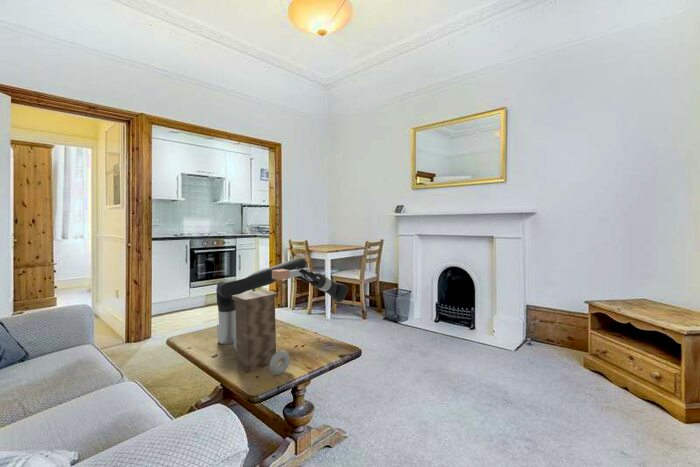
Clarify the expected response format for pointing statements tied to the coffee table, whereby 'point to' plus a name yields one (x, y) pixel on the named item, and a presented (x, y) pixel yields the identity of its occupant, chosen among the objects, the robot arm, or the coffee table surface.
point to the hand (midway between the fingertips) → (298, 269)
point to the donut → (275, 359)
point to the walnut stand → (255, 329)
